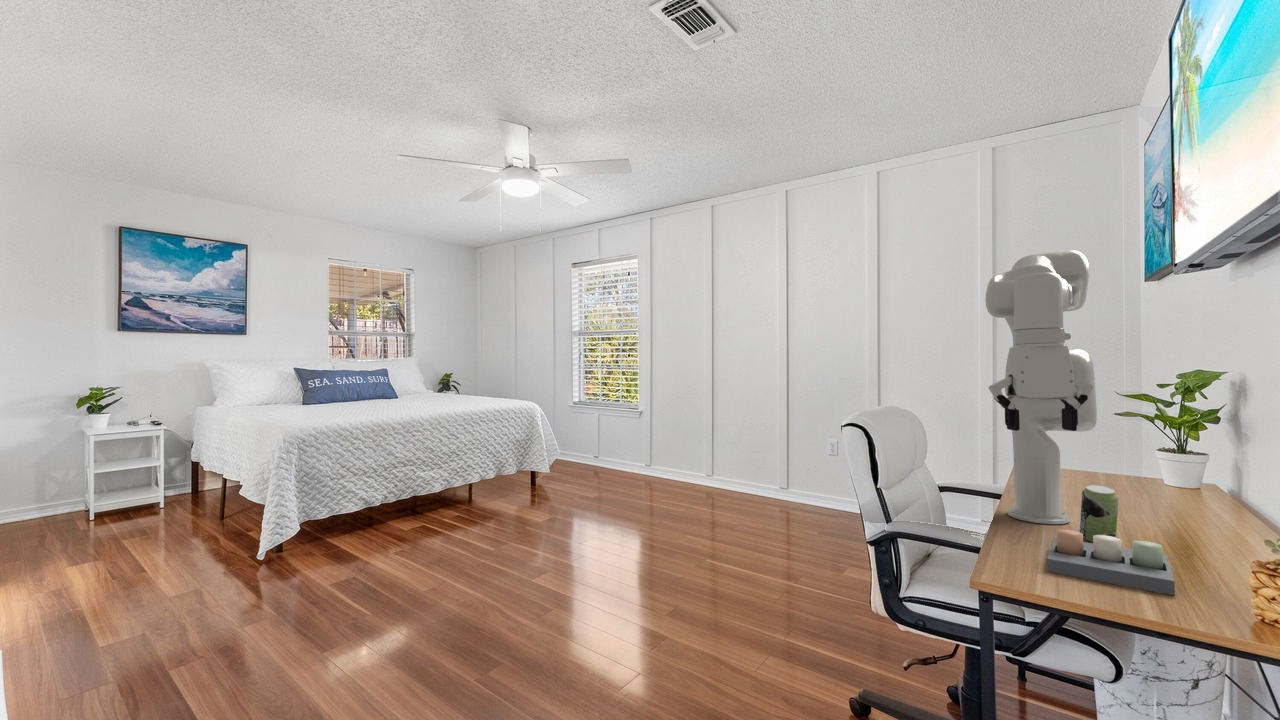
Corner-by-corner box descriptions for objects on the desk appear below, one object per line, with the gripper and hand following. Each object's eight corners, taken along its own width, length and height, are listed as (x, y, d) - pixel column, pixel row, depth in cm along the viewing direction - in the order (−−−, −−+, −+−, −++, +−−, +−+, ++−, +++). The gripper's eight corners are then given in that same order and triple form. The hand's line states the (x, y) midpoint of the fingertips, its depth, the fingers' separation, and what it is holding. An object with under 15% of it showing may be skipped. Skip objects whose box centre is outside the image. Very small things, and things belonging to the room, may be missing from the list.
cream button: (1093, 552, 104) (1093, 533, 104) (1121, 557, 102) (1121, 537, 102) (1093, 558, 101) (1092, 538, 101) (1121, 563, 99) (1121, 543, 99)
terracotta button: (1057, 547, 108) (1057, 528, 108) (1083, 551, 105) (1083, 532, 105) (1056, 552, 105) (1055, 533, 105) (1083, 556, 102) (1082, 537, 102)
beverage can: (1102, 536, 121) (1100, 482, 121) (1128, 547, 113) (1127, 490, 114) (1072, 536, 121) (1070, 482, 122) (1096, 547, 114) (1094, 490, 114)
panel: (1054, 548, 113) (1054, 537, 113) (1167, 567, 102) (1167, 554, 102) (1047, 571, 101) (1047, 558, 101) (1174, 595, 90) (1174, 581, 90)
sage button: (1132, 559, 101) (1131, 539, 101) (1162, 564, 98) (1161, 543, 98) (1133, 565, 98) (1132, 544, 98) (1163, 570, 95) (1163, 549, 95)
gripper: (1076, 339, 105) (1078, 428, 104) (979, 341, 107) (981, 427, 107) (1103, 337, 97) (1106, 432, 97) (999, 339, 100) (1001, 432, 99)
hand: (1041, 430), depth 102 cm, fingers open, 9 cm apart
